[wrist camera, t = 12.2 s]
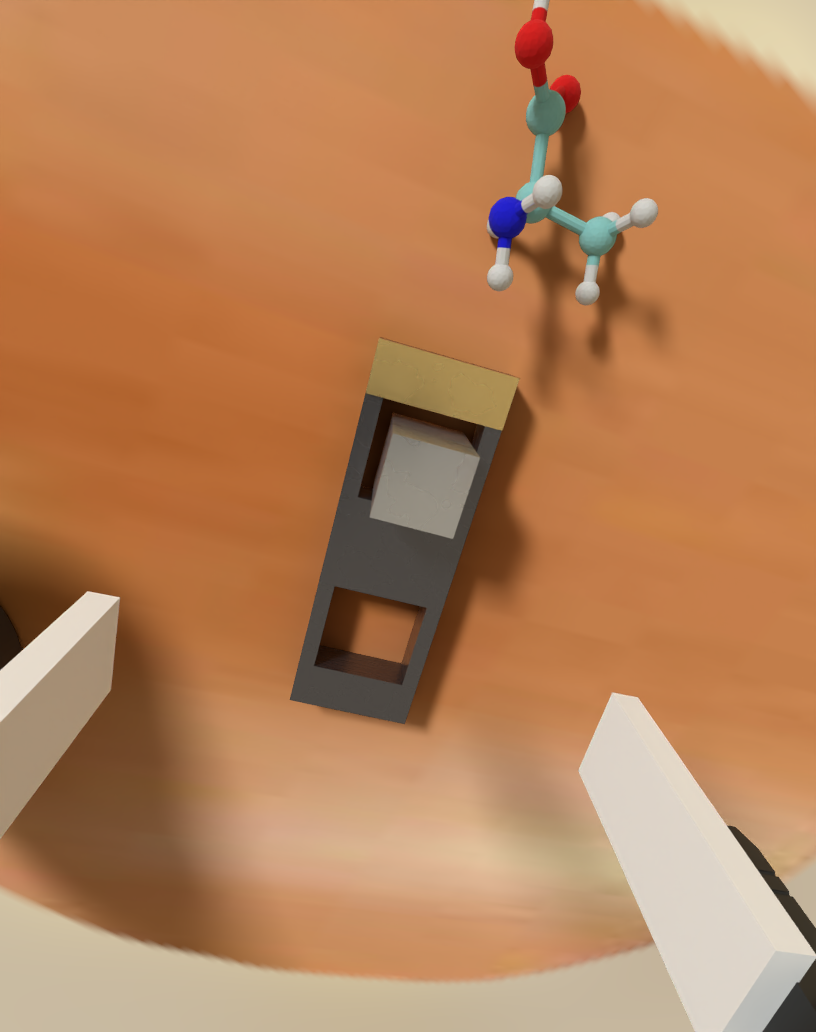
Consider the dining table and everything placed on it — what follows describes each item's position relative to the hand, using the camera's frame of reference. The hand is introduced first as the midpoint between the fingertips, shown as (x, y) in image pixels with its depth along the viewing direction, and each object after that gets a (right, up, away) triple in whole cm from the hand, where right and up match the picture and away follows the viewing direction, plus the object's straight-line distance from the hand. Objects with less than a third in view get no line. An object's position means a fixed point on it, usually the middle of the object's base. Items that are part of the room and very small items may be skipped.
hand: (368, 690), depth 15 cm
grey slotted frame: (0, +3, +22) cm, 22 cm away
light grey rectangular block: (+2, +8, +20) cm, 22 cm away
